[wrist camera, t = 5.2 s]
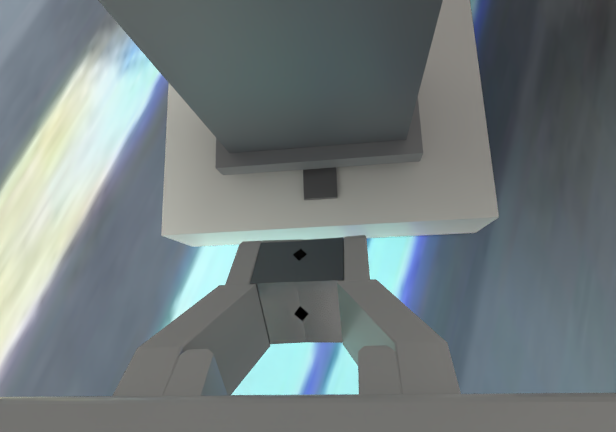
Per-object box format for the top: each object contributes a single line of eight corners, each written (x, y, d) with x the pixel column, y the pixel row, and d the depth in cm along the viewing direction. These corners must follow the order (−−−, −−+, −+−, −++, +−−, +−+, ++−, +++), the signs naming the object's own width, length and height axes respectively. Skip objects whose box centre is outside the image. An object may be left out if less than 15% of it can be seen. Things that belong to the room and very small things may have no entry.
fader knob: (419, 161, 14) (560, -199, 4) (223, 175, 15) (-63, -97, 5) (410, 57, 15) (507, -450, 5) (224, 76, 16) (-16, -328, 6)
